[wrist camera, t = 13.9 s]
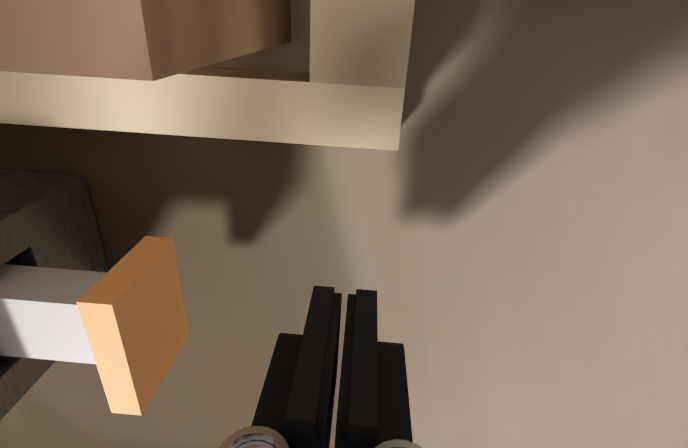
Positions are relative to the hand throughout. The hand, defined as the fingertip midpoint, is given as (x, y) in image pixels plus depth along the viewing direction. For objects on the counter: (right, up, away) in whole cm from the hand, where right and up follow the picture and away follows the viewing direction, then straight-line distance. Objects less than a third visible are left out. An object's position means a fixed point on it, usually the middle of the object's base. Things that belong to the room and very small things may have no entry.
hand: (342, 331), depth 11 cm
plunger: (-7, +1, +1) cm, 8 cm away
